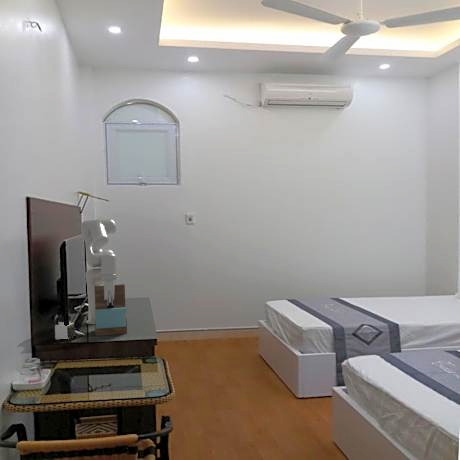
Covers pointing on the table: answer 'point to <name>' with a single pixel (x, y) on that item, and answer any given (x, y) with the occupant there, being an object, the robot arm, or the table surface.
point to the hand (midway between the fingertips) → (110, 312)
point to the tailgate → (110, 318)
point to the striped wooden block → (117, 303)
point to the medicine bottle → (64, 329)
